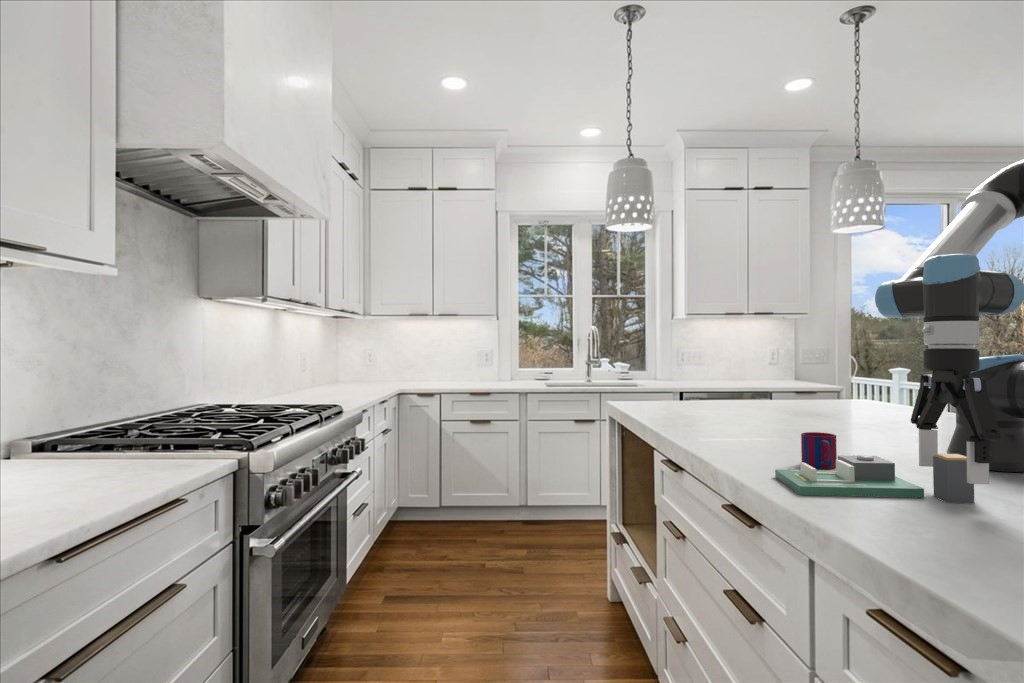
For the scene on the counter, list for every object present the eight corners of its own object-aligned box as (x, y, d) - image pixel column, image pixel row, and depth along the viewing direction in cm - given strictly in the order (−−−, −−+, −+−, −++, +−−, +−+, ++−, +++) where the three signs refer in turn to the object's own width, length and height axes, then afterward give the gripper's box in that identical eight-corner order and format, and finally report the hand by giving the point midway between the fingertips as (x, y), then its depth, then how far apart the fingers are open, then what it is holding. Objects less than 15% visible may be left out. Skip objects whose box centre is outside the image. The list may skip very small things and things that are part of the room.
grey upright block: (962, 497, 99) (961, 453, 99) (978, 503, 95) (977, 458, 95) (933, 496, 100) (932, 453, 100) (947, 503, 96) (946, 458, 96)
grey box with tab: (876, 471, 113) (876, 453, 113) (895, 479, 106) (894, 460, 106) (837, 470, 114) (837, 452, 114) (853, 479, 107) (853, 460, 107)
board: (883, 478, 113) (883, 456, 113) (924, 497, 99) (923, 472, 99) (775, 476, 116) (774, 455, 116) (799, 494, 102) (799, 470, 102)
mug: (833, 463, 128) (833, 432, 128) (842, 473, 118) (841, 440, 118) (800, 462, 130) (799, 431, 130) (805, 471, 121) (805, 438, 121)
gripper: (889, 347, 111) (889, 459, 110) (974, 346, 86) (974, 491, 86) (932, 347, 110) (932, 460, 109) (1030, 347, 85) (1031, 493, 85)
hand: (951, 474), depth 98 cm, fingers open, 13 cm apart
